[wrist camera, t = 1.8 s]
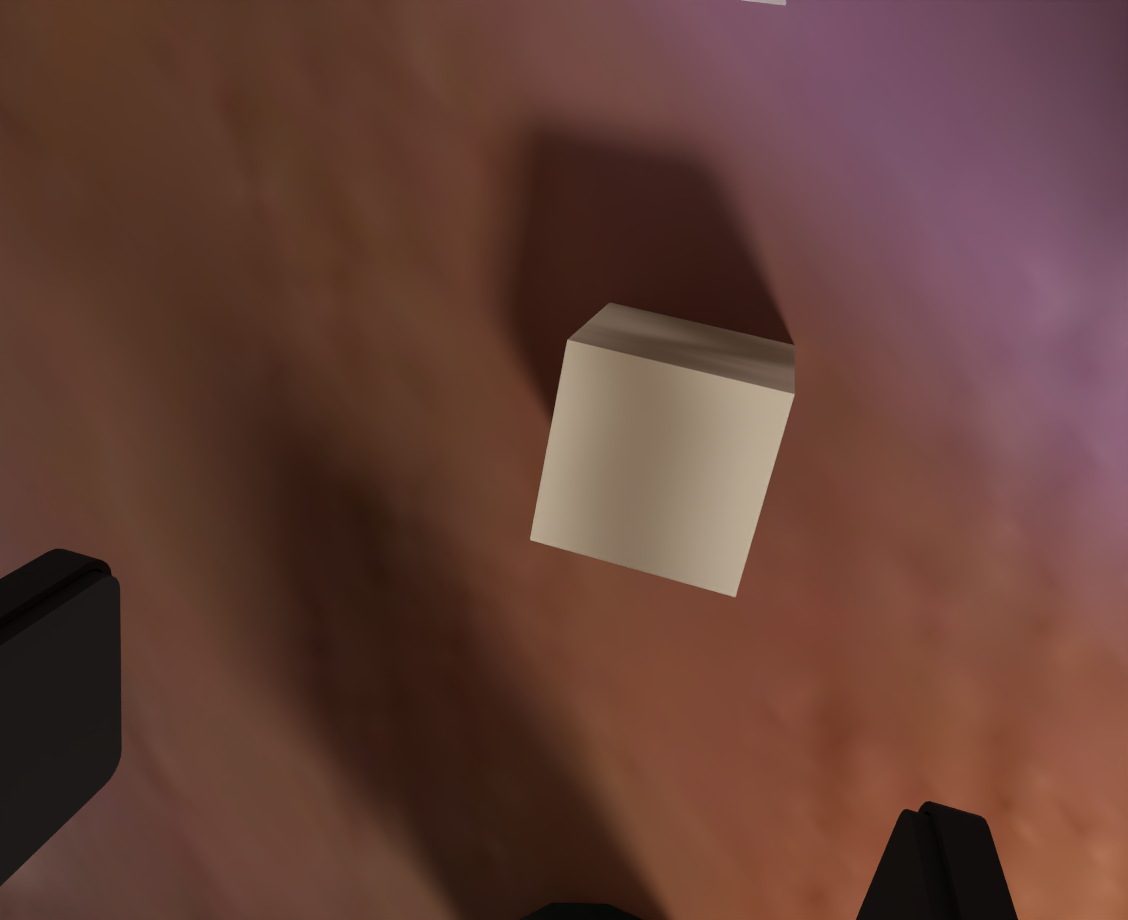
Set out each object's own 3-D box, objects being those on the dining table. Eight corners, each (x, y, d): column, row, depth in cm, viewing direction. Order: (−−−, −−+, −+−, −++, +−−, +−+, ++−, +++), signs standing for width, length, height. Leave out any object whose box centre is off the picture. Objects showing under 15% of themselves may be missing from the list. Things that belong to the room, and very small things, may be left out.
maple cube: (794, 344, 23) (794, 393, 19) (745, 514, 25) (735, 596, 21) (610, 301, 24) (567, 339, 20) (576, 469, 26) (530, 540, 21)
